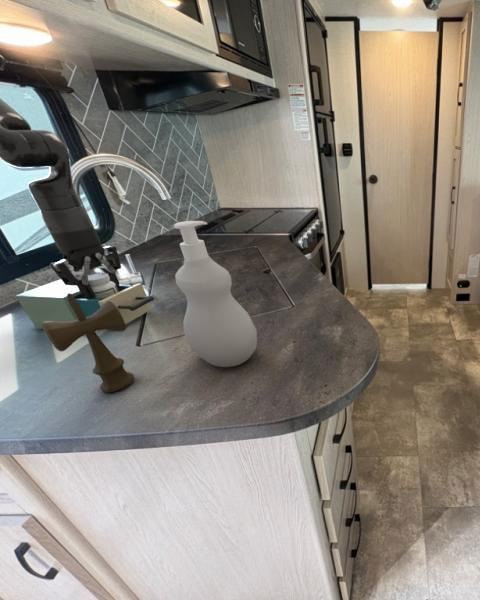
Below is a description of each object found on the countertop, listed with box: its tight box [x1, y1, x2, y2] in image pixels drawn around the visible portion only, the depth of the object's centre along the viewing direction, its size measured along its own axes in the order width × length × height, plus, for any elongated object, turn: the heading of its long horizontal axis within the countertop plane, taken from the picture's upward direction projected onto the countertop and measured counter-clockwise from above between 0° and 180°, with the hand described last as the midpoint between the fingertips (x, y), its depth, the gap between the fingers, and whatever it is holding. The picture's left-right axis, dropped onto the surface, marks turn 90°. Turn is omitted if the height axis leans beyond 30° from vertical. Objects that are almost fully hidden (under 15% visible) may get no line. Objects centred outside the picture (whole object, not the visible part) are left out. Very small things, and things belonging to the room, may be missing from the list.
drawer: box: [67, 282, 155, 325], centre depth 82 cm, size 17×11×8 cm, turn 82°
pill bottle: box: [88, 272, 119, 301], centre depth 81 cm, size 6×6×10 cm
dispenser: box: [15, 278, 81, 330], centre depth 83 cm, size 14×12×10 cm
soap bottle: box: [173, 220, 258, 368], centre depth 62 cm, size 17×12×29 cm
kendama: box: [42, 293, 135, 393], centre depth 57 cm, size 6×10×20 cm, turn 143°
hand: (103, 292), depth 80 cm, fingers closed on pill bottle, 5 cm apart
